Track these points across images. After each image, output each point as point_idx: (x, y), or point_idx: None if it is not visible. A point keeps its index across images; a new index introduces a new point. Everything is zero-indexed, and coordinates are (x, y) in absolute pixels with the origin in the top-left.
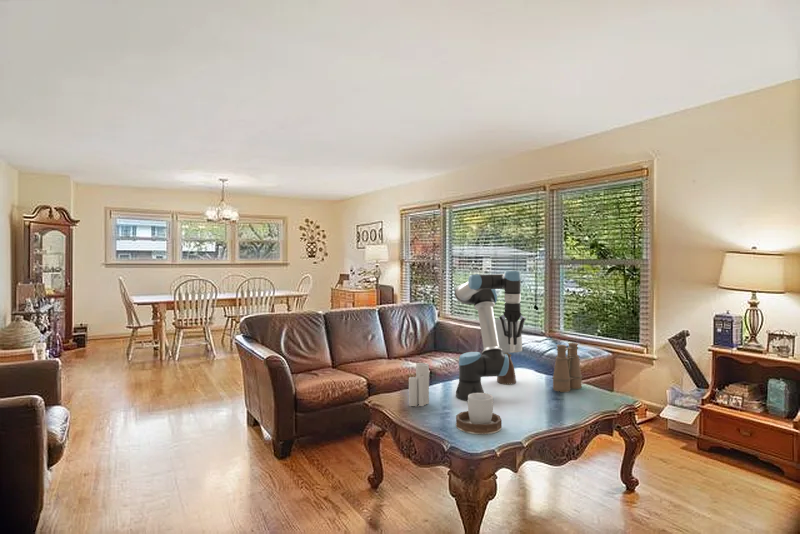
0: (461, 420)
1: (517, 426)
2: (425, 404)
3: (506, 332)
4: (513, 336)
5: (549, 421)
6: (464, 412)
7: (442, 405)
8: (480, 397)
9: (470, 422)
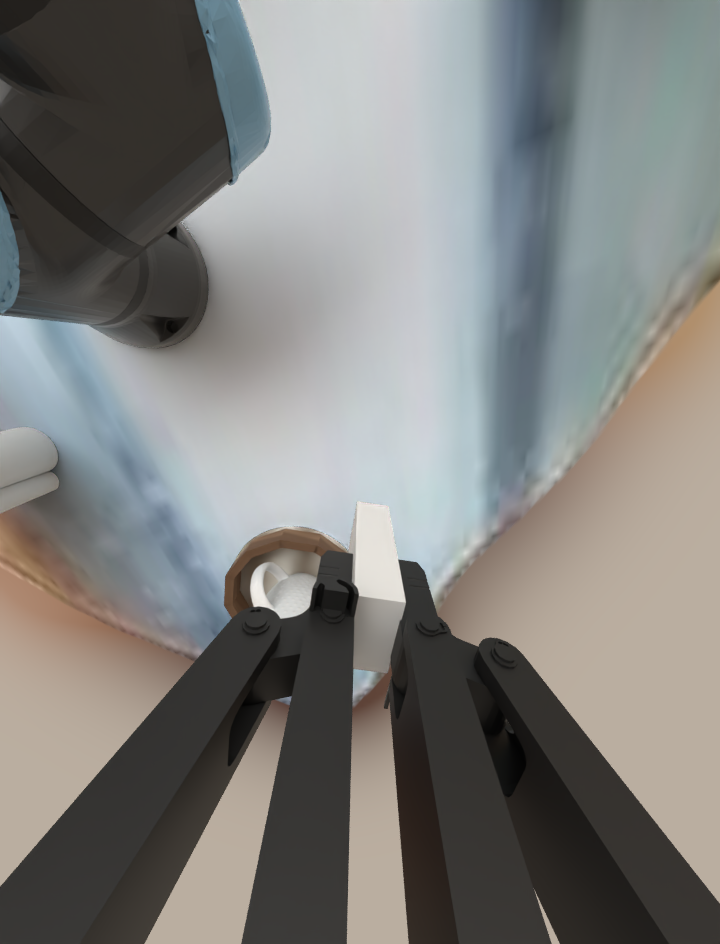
0: None
1: (400, 548)
2: (53, 466)
3: (249, 733)
4: (395, 699)
5: (492, 472)
6: (236, 575)
7: (109, 446)
8: None
9: (269, 578)
